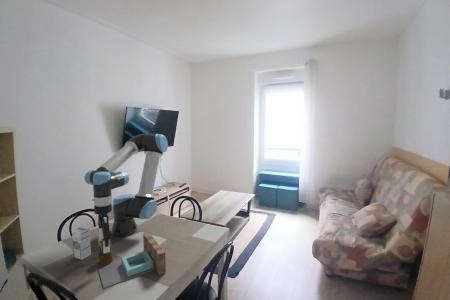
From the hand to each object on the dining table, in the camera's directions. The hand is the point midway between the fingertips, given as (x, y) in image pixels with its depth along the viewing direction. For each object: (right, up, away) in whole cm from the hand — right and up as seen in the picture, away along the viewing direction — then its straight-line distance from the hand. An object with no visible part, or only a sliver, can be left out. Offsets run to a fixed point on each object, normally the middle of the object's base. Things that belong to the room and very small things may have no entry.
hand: (104, 246), depth 112 cm
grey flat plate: (+13, -9, -5) cm, 17 cm away
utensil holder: (0, -9, +1) cm, 9 cm away
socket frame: (+17, -9, -2) cm, 20 cm away
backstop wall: (+24, -9, +2) cm, 25 cm away
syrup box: (-14, -8, +6) cm, 17 cm away
